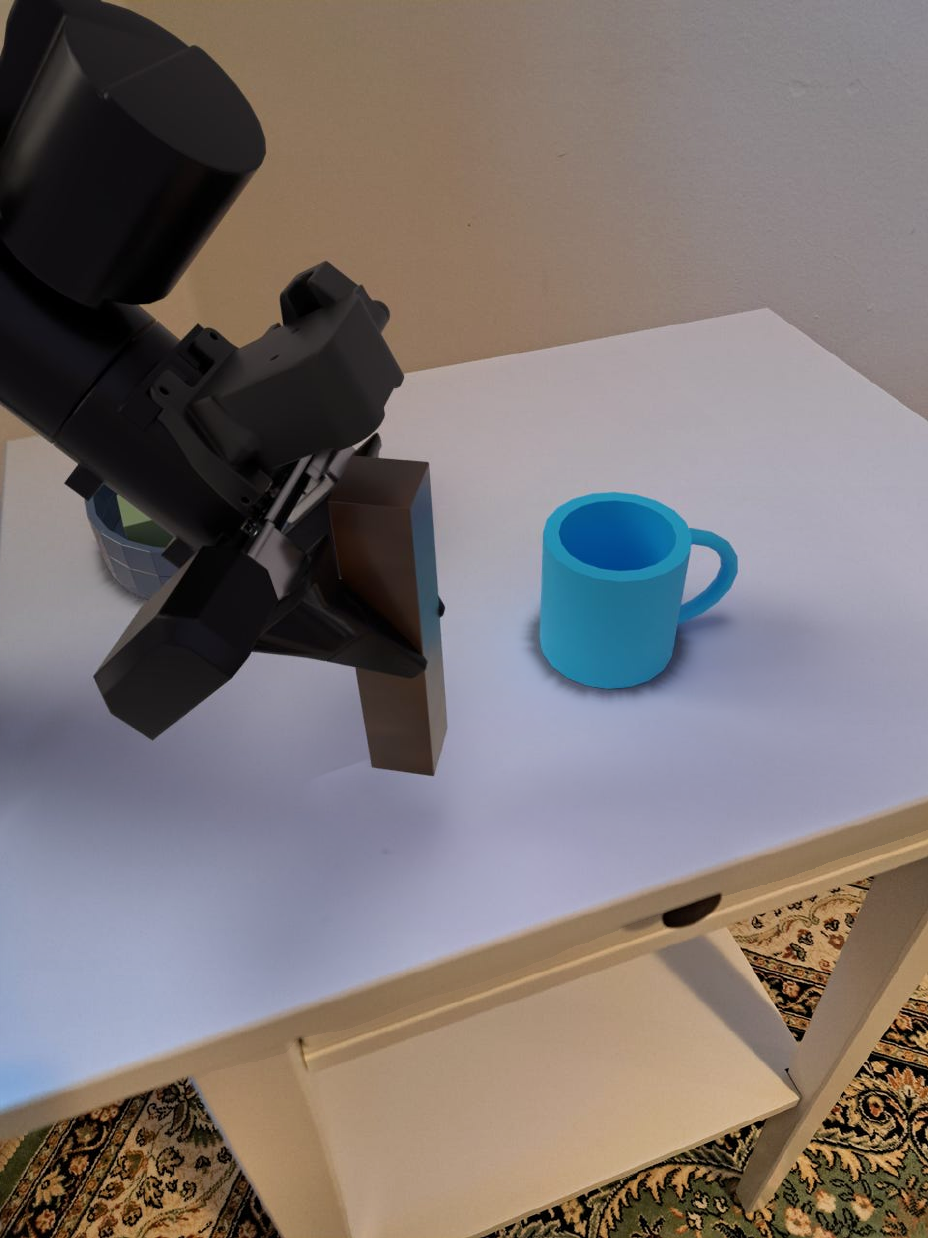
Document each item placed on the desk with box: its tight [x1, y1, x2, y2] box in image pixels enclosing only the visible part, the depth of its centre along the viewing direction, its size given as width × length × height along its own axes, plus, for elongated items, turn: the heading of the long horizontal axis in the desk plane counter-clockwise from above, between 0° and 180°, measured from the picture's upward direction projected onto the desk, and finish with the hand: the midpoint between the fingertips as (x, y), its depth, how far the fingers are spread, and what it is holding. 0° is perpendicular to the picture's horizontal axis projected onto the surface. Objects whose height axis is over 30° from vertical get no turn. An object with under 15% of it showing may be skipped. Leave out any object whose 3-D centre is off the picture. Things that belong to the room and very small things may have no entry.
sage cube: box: [117, 495, 174, 548], centre depth 60 cm, size 4×4×4 cm
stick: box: [327, 456, 449, 777], centre depth 37 cm, size 3×3×15 cm
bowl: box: [84, 484, 288, 601], centre depth 63 cm, size 17×17×4 cm
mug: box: [539, 491, 739, 690], centre depth 52 cm, size 12×8×8 cm
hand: (429, 643), depth 37 cm, fingers closed on stick, 3 cm apart
